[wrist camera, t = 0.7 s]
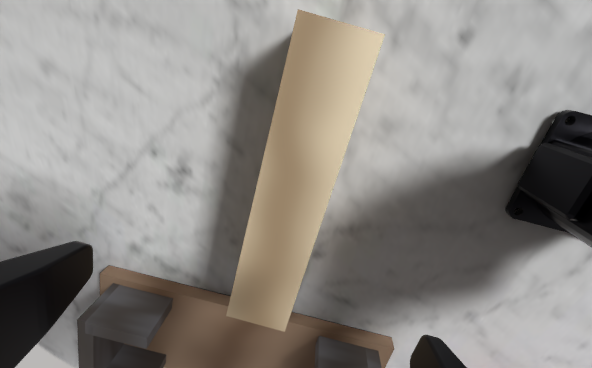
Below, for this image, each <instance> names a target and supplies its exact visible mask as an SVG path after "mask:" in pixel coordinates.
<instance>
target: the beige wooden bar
mask: <svg viewBox="0 0 592 368" xmlns="http://www.w3.org/2000/svg"><path fill="white" fill-rule="evenodd" d="M384 36H385V34H381V33H378V32H374V31H371V30H367V29H364V28H361V27H357V26H354V25H350V24H347V23H343V22H340V21H336V20H333V19H329V18H326V17H322V16H319V15H316V14H312V13H309V12H305V11H302V10H298V11H297V16H296V20H295V24H294V28H293V33H292V37H291V41H290V45H289V50H288V54H287V58H286V63H285V67H284V71H283V75H282V80H281V84H280V88H279V92H278V97H277V101H276V105H275V109H274V114H273V118H272V122H271V127H270V131H269V135H268V139H267V144H266V148H265V152H264V156H263V161H262V165H261V169H260V173H259V178H258V182H257V186H256V191H255V195H254V199H253V203H252V208H251V212H250V216H249V220H248V225H247V229H246V233H245V237H244V242H243V246H242V250H241V255H240V259H239V263H238V267H237V272H236V276H235V280H234V284H233V289H232V293H231V297H230V301H229V306H228V310H227V314H226V316H229V317H232V318H236V319H240V320H243V321H247V322H251V323H254V324H258V325H262V326H265V327H269V328H273V329H277V330H280V331H284V332H285V329H286V326H287V324H288V321H289V318H290V315H291V312H292V309H293V306H294V303H295V300H296V297H297V294H298V291H299V288H300V285H301V282H302V279H303V276H304V273H305V270H306V267H307V264H308V261H309V258H310V255H311V252H312V249H313V247H314V244H315V241H316V238H317V235H318V232H319V229H320V226H321V223H322V220H323V217H324V214H325V211H326V208H327V205H328V202H329V199H330V196H331V193H332V190H333V187H334V184H335V181H336V178H337V175H338V172H339V170H340V167H341V164H342V161H343V158H344V155H345V152H346V149H347V146H348V143H349V140H350V137H351V134H352V131H353V128H354V125H355V122H356V119H357V116H358V113H359V110H360V107H361V104H362V101H363V98H364V95H365V93H366V90H367V87H368V84H369V81H370V78H371V75H372V72H373V69H374V66H375V63H376V60H377V57H378V54H379V51H380V48H381V45H382V42H383V39H384Z"/></svg>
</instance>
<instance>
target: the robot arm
mask: <svg viewBox="0 0 592 368" xmlns="http://www.w3.org/2000/svg"><path fill="white" fill-rule="evenodd" d="M569 116H570V121H569V122H568V123H566V124H565V120H566V119H567V117H569ZM518 207H519V210H518V211H516V212H514V210H515V209H516V208H518ZM506 212H507V214H508V215H509V216H511V217H512V218H514V219H518V220H522V221H526V222H530V223H534V224H538V225H541V226H545V227H549V228H553V229H557V230H561V231H565V232H568V233H571V234H573V235H574V236H576V237H577V238H578V239H580V240H581V241H583V242H584V243H586V244H587V245H589V246H590V247H592V115H588V114H584V113H580V112H576V111H571V110H565V111H562V112H561V113H559V114H558V115H557V117H556V118H555V120H554V122H553V124H552V125H551V127H550V129H549V131H548V133H547V134H546V136H545V138H544V140H543V142H542V143H541V145H540V146H539V147H538V149H537V151H536V152H535V154H534V156H533V158H532V160H531V162H530V163H529V165H528V167H527V169H526V171H525V172H524V174H523V176H522V178H521V180H520V181H519V183H518V187H517V188H516V190H515V192H514V194H513V196H512V197H511V199H510V201H509V203H508V205H507V206H506ZM92 272H93V248H92V246H91V245H89V244H86V243H82V242H78V241H73V242H69V243H66V244H62V245H59V246H55V247H52V248H48V249H44V250H41V251H37V252H34V253H30V254H27V255H23V256H19V257H16V258H12V259H9V260H5V261H2V262H0V368H15V367H16V365H17V364H18V363H19V362H20V361H21V360H22V359H23V358H24V357H25V356H26V355H27V354H28V353H29V352H30V350H31V349H32V348H33V347H34V346H35V345H36V344H37V343H38V342H39V341H40V340H41V339H42V337H43V336H44V335H45V334H46V333H47V332H48V331H49V330H50V328H51V327H52V326H53V325H54V324H55V322H56V321H57V320H58V319H59V317H60V316H61V315H62V313H63V312H64V311H65V310H66V308H67V307H68V306H69V304H70V303H71V302H72V301H73V299H74V298H75V297H76V295H77V294H78V293H79V292H80V290H81V289H82V288H83V286H84V285H85V284H86V283H87V281H88V280H89V279H90V277H91V275H92ZM410 368H466V366H465V365H464V364H463V363H462V362H461V361H460V360H459V359H458V358H457V356H456V355H455V354H454V353H453V352H452V351H451V350H450V349H449V348H448V347H447V345H446V344H445V343H444V342H443V341H442V340H441V339H439V338H437V337H433V336H430V335H423V336H422V337H421V338H420V340H419V342H418V344H417V346H416V348H415V350H414V351H413V353H412V355H411V359H410Z"/></svg>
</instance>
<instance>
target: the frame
mask: <svg viewBox="0 0 592 368" xmlns="http://www.w3.org/2000/svg"><path fill="white" fill-rule="evenodd" d="M230 297H231V296H227V295H223V294H219V293H215V292H211V291H207V290H203V289H199V288H196V287H192V286H188V285H184V284H180V283H176V282H172V281H168V280H164V279H160V278H156V277H153V276H149V275H145V274H141V273H137V272H133V271H129V270H125V269H121V268H117V267H113V266H110V265H109V266H108V267H106V268H105V269H104V270H103V271H102V272H101V273H100V297H99V298H98V299H97V300H96V301H95V302H94V303H93V304H92V305H91V306H90V307H89V308H88V309H87V310H86V311H85V312H84V314H83V315H82V316H81V317H80V318H79V319H78V320H77V325H78V353H79V368H385V366H386V364H387V362H388V360H389V358H390V356H391V354H392V352H393V350H394V346H393V342H392V338H391V337H387V336H383V335H379V334H375V333H372V332H368V331H364V330H360V329H356V328H352V327H348V326H344V325H340V324H336V323H332V322H329V321H325V320H321V319H317V318H313V317H309V316H305V315H301V314H297V313H293V312H291V315H290V318H289V321H288V324H287V326H286V329H285V332H284V331H280V330H277V329H273V328H269V327H265V326H262V325H258V324H254V323H251V322H247V321H243V320H240V319H236V318H232V317H229V316H226V314H227V310H228V306H229V301H230Z"/></svg>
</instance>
